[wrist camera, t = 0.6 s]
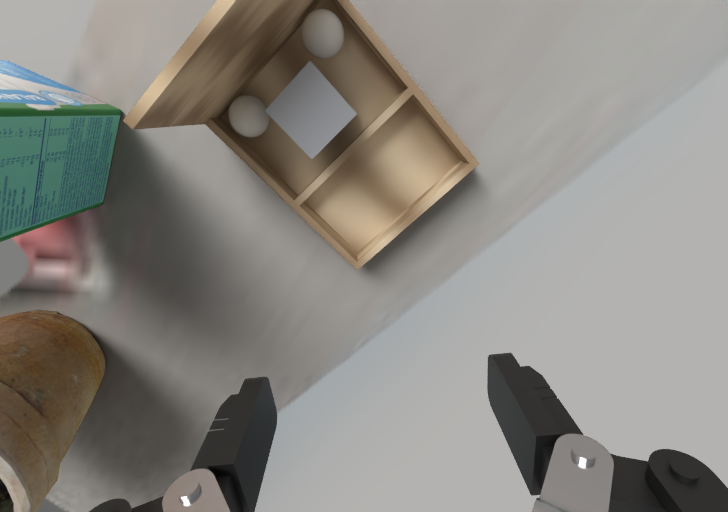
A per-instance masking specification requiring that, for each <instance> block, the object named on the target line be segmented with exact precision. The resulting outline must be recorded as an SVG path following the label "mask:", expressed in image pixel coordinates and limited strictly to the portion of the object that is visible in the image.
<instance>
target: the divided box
mask: <svg viewBox="0 0 728 512" xmlns="http://www.w3.org/2000/svg"><path fill="white" fill-rule="evenodd" d="M317 9H327V10H329V11H332V12H333V13H334V14H336V15H337V16H338V18H339V19H340V21H341V23H342V25H343V28H344V42H343V45H342V48H341V49H340V51H339V52H338V53H337V54H336V55H335V56H333V57H331V58H327V59H321V58H318V57H315V56H314V55H312V54H311V53H310V52H309V51H308V50H307V49H306V47H305V45H304V43H303V40H302V35H301V30H302V25H303V22H304V20H305V18H306V17H307V15H308V14H309V13H311V12H312V11H314V10H317ZM309 61H311V62H312V63H313V64H314V65H315V67H316V68H317V69H318V70H319V71H320V72H321V73H322V74H323V76H324V77H325V78H326V79H327V80H328V81H329V82H330V83H331V85H332V86H333V87H334V88H335V89H336V90H337V91H338V93H339V94H340V95H341V96H342V97H343V98H344V99H345V101H346V102H347V103H348V104H349V105H350V106H351V107H352V108H353V110H354V111H355V112H356V113H357V115H356V116H355V117H354V118H353V119H352V120H351V121H350V122H349V123H348V124H347V125H346V126H345V127H344V128H343V129H342V130H341V131H340V132H339V133H338V134H337V135H336V136H335V137H334V138H333V139H332V140H331V141H330V142H329V143H328V144H327V145H326V146H325V147H324V148H323V149H322V150H321V151H320V152H319V153H318V154H317V155H316V156H315V157H314V158H313V159H311V158H310V157H309V156H308V155H307V154H306V153H305V152H304V151H303V150H302V149H301V148H300V147H299V146H298V145H297V144H296V143H295V141H294V140H293V139H292V138H291V137H290V136H289V135H288V134H287V133H286V132H285V131H284V130H283V129H282V128H281V127H280V126H279V125H278V124H277V123H276V122H275V121H274V120H273V119H272V118H271V117H270V123H269V126H268V128H267V130H266V131H265V132H264V133H263V134H262V135H260V136H257V137H245V136H243V135H241V134H239V133H238V132H236V131H235V130H234V128H233V127H232V125H231V123H230V121H229V116H228V112H229V107H230V105H231V103H232V102H233V101H234V100H235V99H236V98H237V97H239V96H242V95H252V96H255V97H257V98H259V99H260V100H262V101H263V102H264V103H265V105H266V106H267V108H268V107H269V105H270V104H271V103H272V102H273V101H274V100H275V99H276V98H277V97H278V95H279V94H280V93H281V92H282V91H283V90H284V89H285V88H286V87H287V86H288V84H289V83H290V82H291V81H292V80H293V79H294V78H295V77H296V76H297V74H298V73H299V72H300V71H301V70H302V69H303V68H304V67H305V66H306V65H307V63H308V62H309ZM123 121H124V122H125V123H126V124H127V125H128V126H129V127H130V128H131V129H145V128H158V127H171V126H184V125H197V124H206V125H207V126H208V127H209V128H210V129H211V130H212V131H213V132H214V133H215V134H216V135H217V136H218V137H219V138H220V139H221V140H222V141H223V142H224V143H225V144H226V145H227V146H228V147H229V148H230V149H232V150H233V151H234V152H235V153H236V154H237V155H238V156H239V157H240V158H241V159H242V160H243V161H244V162H245V163H246V164H247V165H248V166H249V167H250V168H251V169H252V170H253V171H254V172H255V173H256V174H257V175H259V176H260V177H261V178H262V179H263V180H264V181H265V182H266V183H267V184H268V185H269V186H270V187H271V188H272V189H273V190H274V191H275V192H276V193H277V194H278V195H279V196H280V197H281V198H282V199H283V200H284V201H286V202H287V203H288V204H289V205H290V206H291V207H292V208H293V209H294V210H295V211H296V212H297V213H298V214H299V215H300V216H301V217H302V218H303V219H304V220H305V221H306V222H307V223H308V224H309V225H310V226H311V227H313V228H314V229H315V230H316V231H317V232H318V233H319V234H320V235H321V236H322V237H323V238H324V239H325V240H326V241H327V242H328V243H329V244H330V245H331V246H332V247H333V248H334V249H335V250H336V251H337V252H338V253H340V254H341V255H342V256H343V257H344V258H345V259H346V260H347V261H348V262H349V263H350V264H351V265H352V266H353V267H354V268H355V269H356V270H358V269H359V268H361V267H362V266H363V265H364V264H365V263H366V262H368V261H369V260H370V259H371V258H372V257H373V256H374V255H376V254H377V253H378V252H379V251H380V250H381V249H382V248H384V247H385V246H386V245H387V244H388V243H389V242H390V241H392V240H393V239H394V238H395V237H396V236H397V235H398V234H400V233H401V232H402V231H403V230H404V229H405V228H407V227H408V226H409V225H410V224H411V223H412V222H413V221H415V220H416V219H417V218H418V217H419V216H420V215H421V214H423V213H424V212H425V211H426V210H427V209H428V208H429V207H431V206H432V205H433V204H434V203H435V202H436V201H437V200H439V199H440V198H441V197H442V196H443V195H444V194H446V193H447V192H448V191H449V190H450V189H451V188H452V187H454V186H455V185H456V184H457V183H458V182H459V181H460V180H462V179H463V178H464V177H465V176H466V175H467V174H468V173H470V172H471V171H472V170H473V169H474V168H475V167H476V166H478V165H479V162H478V161H477V160H476V159H475V157H474V156H473V155H472V154H471V152H470V151H469V150H468V149H467V147H466V146H465V145H464V144H463V142H462V141H461V140H460V139H459V137H458V136H457V135H456V134H455V132H454V131H453V130H452V129H451V127H450V126H449V125H448V124H447V122H446V121H445V120H444V119H443V117H442V116H441V115H440V114H439V112H438V111H437V110H436V109H435V107H434V106H433V105H432V104H431V102H430V101H429V100H428V99H427V97H426V96H425V95H424V94H423V92H422V91H421V90H420V89H419V87H418V86H417V85H416V84H415V82H414V81H413V80H412V79H411V77H410V76H409V75H408V74H407V72H406V71H405V70H404V69H403V67H402V66H401V65H400V64H399V62H398V61H397V60H396V59H395V57H394V56H393V55H392V54H391V52H390V51H389V50H388V49H387V47H386V46H385V45H384V44H383V42H382V41H381V40H380V39H379V37H378V36H377V35H376V34H375V32H374V31H373V30H372V29H371V27H370V26H369V25H368V24H367V22H366V21H365V20H364V19H363V17H362V16H361V15H360V14H359V12H358V11H357V10H356V9H355V7H354V6H353V5H352V4H351V2H350V1H349V0H217V1H216V3H215V4H214V5H213V7H212V8H211V9H210V10H209V12H208V13H207V14H206V15H205V17H204V18H203V19H202V21H201V22H200V23H199V24H198V26H197V27H196V28H195V29H194V31H193V32H192V33H191V35H190V36H189V37H188V38H187V40H186V41H185V42H184V43H183V45H182V46H181V47H180V49H179V50H178V51H177V52H176V54H175V55H174V56H173V57H172V59H171V60H170V61H169V63H168V64H167V65H166V66H165V68H164V69H163V70H162V71H161V73H160V74H159V75H158V77H157V78H156V79H155V80H154V82H153V83H152V84H151V85H150V87H149V88H148V89H147V91H146V92H145V93H144V94H143V96H142V97H141V98H140V99H139V101H138V102H137V103H136V105H135V106H134V107H133V108H132V110H131V111H130V112H129V113H128V115H127V116H126V117H125V119H124V120H123Z"/></svg>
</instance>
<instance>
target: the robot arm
mask: <svg viewBox="0 0 728 512" xmlns="http://www.w3.org/2000/svg"><path fill="white" fill-rule="evenodd" d="M488 396H489V401H490V405H491V407H492V410H493V412H494V414H495V416H496V418H497V421H498V423H499V425H500V427H501V429H502V432H503V434H504V436H505V438H506V441H507V443H508V445H509V447H510V449H511V452H512V454H513V456H514V458H515V460H516V462H517V465H518V467H519V469H520V471H521V474H522V476H523V478H524V480H525V483H526V485H527V487H528V489H529V491H530V494H531V495H540V497H539V498H537V499H536V501H535V504H534V507H533V510H532V512H728V488H727V487H726V486H725V485H724V484H723V482H722V481H721V480H720V479H719V478H718V477H717V476H716V475H715V474H714V473H713V472H712V471H711V470H710V469H709V468H708V467H707V466H706V465H705V464H703V463H702V462H700V461H699V460H697V459H695V458H694V457H692V456H690V455H688V454H685V453H682V452H679V451H676V450H670V449H661V450H657V451H654V452H653V453H652V454H651V455H650V457H649V460H648V462H647V461H642V460H636V459H631V458H625V457H620V456H616V455H613V454H610V453H609V452H608V450H607V449H606V448H605V447H604V446H603V445H601V444H600V443H599V442H597V441H595V440H594V439H592V438H590V437H587V436H584V435H583V433H582V432H581V431H580V429H579V428H578V426H577V425H576V424H575V422H574V420H573V419H572V418H571V416H570V415H569V413H568V412H567V410H566V409H565V408H564V406H563V405H562V403H561V402H560V400H559V399H557V396H556V395H555V393H554V392H553V391H552V389H550V386H549V385H548V384H547V382H546V380H545V379H544V378H543V376H542V375H541V374H539V373H538V372H536V371H535V370H534V369H532V368H531V367H530V366H525V367H520V365H519V364H518V363H517V361H516V359H515V358H514V356H513V355H512V354H511V353H503V354H493V355H489V357H488ZM276 425H277V411H276V406H275V402H274V398H273V394H272V390H271V387H270V383H269V379H268V378H267V377H258V378H249V379H245V380H244V382H243V385H242V387H241V389H240V392H239V394H236V395H231V396H230V397H229V398H228V399H227V400H226V401H225V402H224V403H223V404H222V405H221V406H220V408H219V410H218V412H217V415H216V417H215V421H213V423H212V425H211V427H210V432H208V434H207V436H206V438H205V440H204V442H203V445H202V447H201V449H200V451H199V453H198V455H197V457H196V460H195V462H194V464H193V466H192V468H191V470H190V471H189V472H187V473H185V474H183V475H182V476H180V477H179V478H178V479H177V480H175V481H174V482H173V483H172V484H171V486H170V487H169V488H168V490H167V491H166V493H165V495H164V496H163V497H160V498H158V499H156V500H153V501H150V502H148V503H145V504H143V505H140V506H137V507H135V508H131V506H130V504H129V503H128V502H127V501H126V500H124V499H113V500H109V501H106V502H104V503H102V504H100V505H98V506H97V507H95V508H94V509H92V510H91V511H90V512H254V511H255V507H256V503H257V499H258V495H259V491H260V488H261V483H262V480H263V476H264V472H265V468H266V464H267V461H268V457H269V453H270V449H271V445H272V441H273V437H274V434H275V430H276Z"/></svg>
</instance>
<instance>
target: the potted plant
mask: <svg viewBox="0 0 728 512" xmlns="http://www.w3.org/2000/svg"><path fill="white" fill-rule="evenodd" d="M104 374H105V358H104V355H103V352H102V350H101V348H100V347H99V345H98V344H97V342H96V341H95V339H94V338H93V336H92V335H91V333H90V332H89V331H88V330H87V329H86V328H85V327H84V326H83V325H81V324H80V323H79V322H77V321H75V320H73V319H71V318H69V317H67V316H64V315H61V314H60V313H58V312H54V311H42V310H35V311H29V312H22V313H16V314H12V315H9V316H5V317H1V318H0V512H36V511H37V509H38V508H39V507H40V505H41V504H42V502H43V500H44V499H45V497H46V495H47V494H48V492H49V491H50V490H51V488H52V487H53V485H54V484H55V482H56V481H57V478H58V473H59V468H60V463H61V461H62V459H63V457H64V456H65V454H66V452H67V450H68V448H69V447H70V445H71V443H72V441H73V439H74V437H75V435H76V433H77V431H78V429H79V427H80V425H81V423H82V421H83V419H84V417H85V415H86V413H87V411H88V409H89V407H90V405H91V403H92V401H93V399H94V397H95V395H96V393H97V391H98V388H99V386H100V384H101V381H102V379H103V377H104Z"/></svg>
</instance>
